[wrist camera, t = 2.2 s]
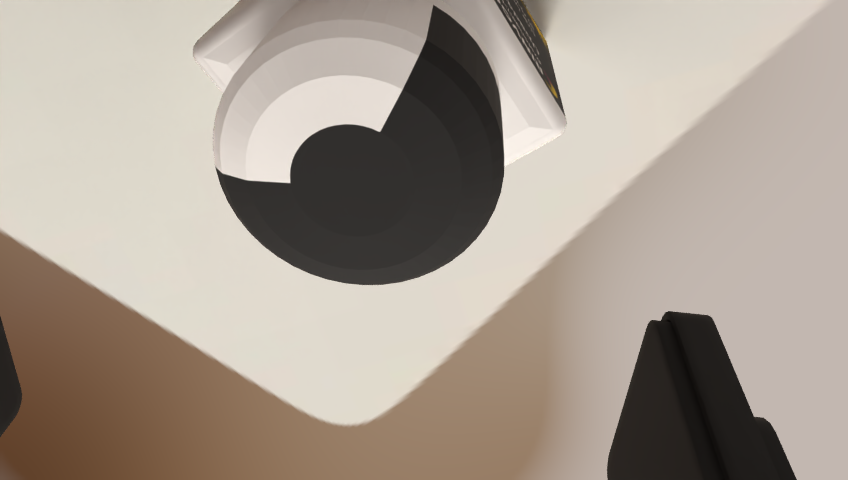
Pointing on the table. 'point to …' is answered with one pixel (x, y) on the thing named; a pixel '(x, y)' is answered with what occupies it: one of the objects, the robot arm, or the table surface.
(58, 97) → the table surface
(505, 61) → the medicine bottle
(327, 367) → the table surface
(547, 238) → the table surface
